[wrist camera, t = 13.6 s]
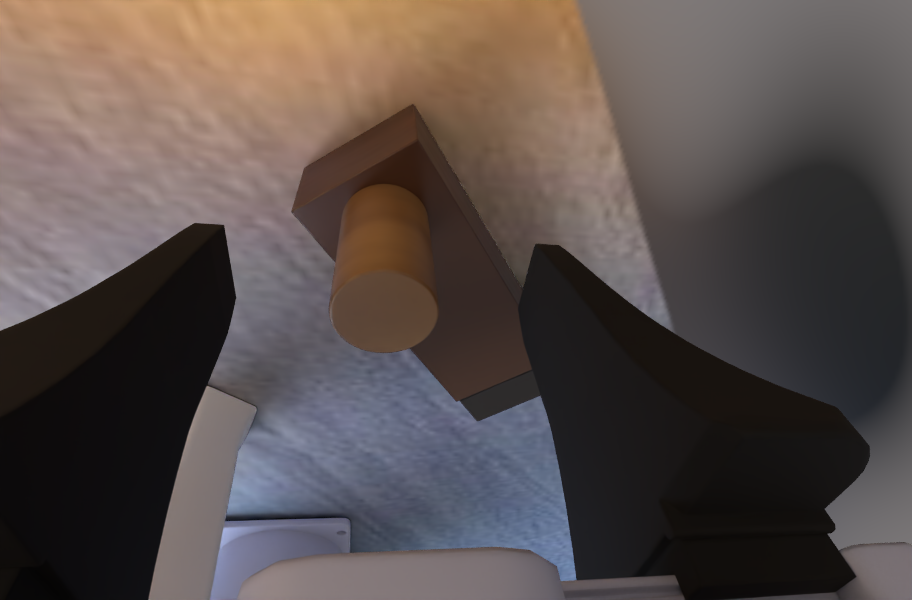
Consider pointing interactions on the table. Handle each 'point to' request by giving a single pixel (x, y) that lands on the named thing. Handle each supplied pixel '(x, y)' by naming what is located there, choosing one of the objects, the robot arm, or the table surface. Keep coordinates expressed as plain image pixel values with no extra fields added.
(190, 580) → the perfume bottle
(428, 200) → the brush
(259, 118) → the table surface
